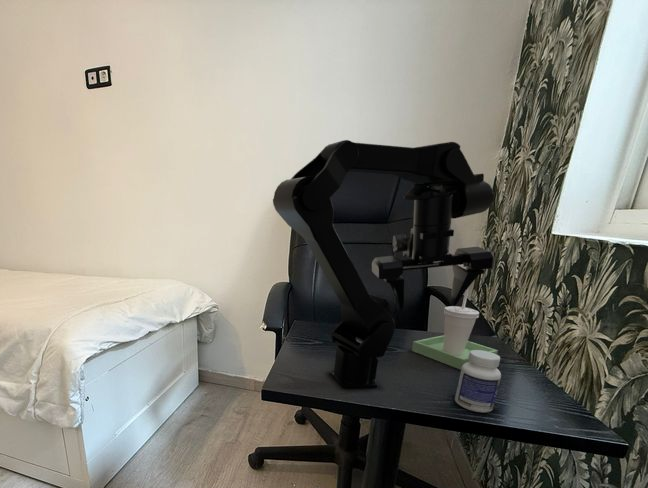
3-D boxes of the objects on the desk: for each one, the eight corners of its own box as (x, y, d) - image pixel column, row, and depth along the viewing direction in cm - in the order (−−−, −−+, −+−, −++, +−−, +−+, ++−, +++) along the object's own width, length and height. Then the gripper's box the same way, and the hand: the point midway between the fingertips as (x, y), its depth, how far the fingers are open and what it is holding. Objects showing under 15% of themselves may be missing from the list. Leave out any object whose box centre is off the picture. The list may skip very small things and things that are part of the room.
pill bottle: (499, 415, 55) (513, 362, 53) (462, 411, 56) (474, 359, 54) (483, 398, 60) (495, 350, 58) (449, 395, 61) (459, 347, 59)
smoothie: (475, 354, 78) (489, 291, 74) (461, 360, 74) (476, 294, 70) (444, 344, 83) (456, 285, 79) (430, 350, 79) (442, 288, 75)
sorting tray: (461, 370, 71) (463, 359, 71) (411, 350, 81) (413, 341, 80) (495, 360, 77) (498, 350, 76) (445, 343, 86) (447, 334, 86)
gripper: (467, 211, 68) (460, 289, 73) (365, 224, 71) (365, 297, 76) (501, 218, 57) (490, 308, 63) (380, 233, 61) (379, 317, 66)
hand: (426, 307), depth 67 cm, fingers open, 9 cm apart
